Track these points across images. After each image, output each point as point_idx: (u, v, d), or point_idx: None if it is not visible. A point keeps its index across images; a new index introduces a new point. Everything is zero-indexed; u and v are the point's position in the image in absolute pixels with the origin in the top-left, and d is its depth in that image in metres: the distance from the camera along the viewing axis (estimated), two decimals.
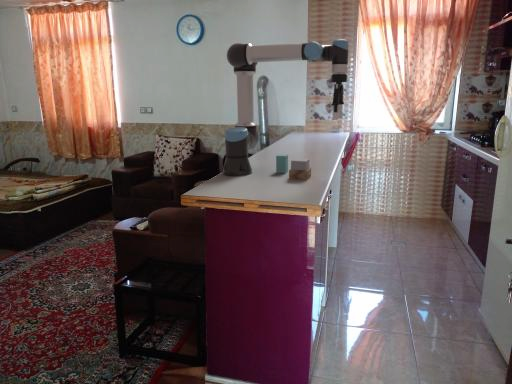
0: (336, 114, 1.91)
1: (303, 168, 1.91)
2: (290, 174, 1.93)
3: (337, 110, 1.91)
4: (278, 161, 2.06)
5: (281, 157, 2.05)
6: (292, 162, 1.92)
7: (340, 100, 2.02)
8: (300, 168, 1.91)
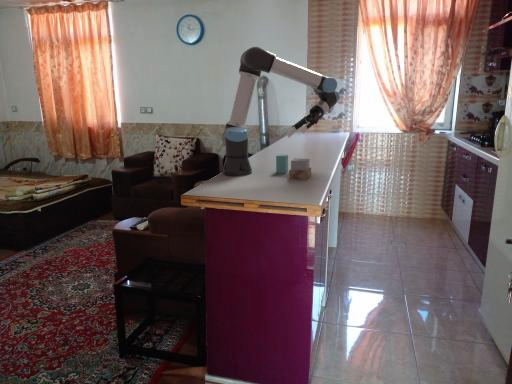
0: (306, 129, 2.04)
1: (303, 168, 1.91)
2: (290, 174, 1.93)
3: (308, 127, 2.05)
4: (278, 161, 2.06)
5: (281, 157, 2.05)
6: (292, 162, 1.92)
7: (298, 126, 2.18)
8: (300, 168, 1.91)
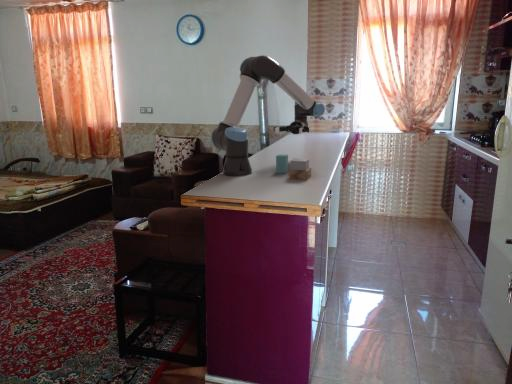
0: (301, 131, 2.13)
1: (303, 168, 1.91)
2: (290, 174, 1.92)
3: (302, 131, 2.15)
4: (278, 161, 2.06)
5: (281, 157, 2.05)
6: (292, 162, 1.92)
7: (281, 129, 2.23)
8: (300, 168, 1.91)
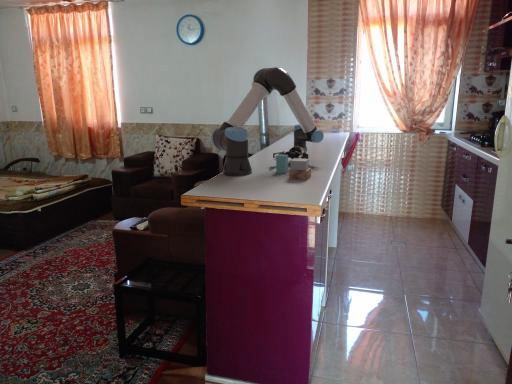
0: None
1: (303, 168, 1.91)
2: (290, 174, 1.92)
3: None
4: (278, 161, 2.06)
5: (281, 157, 2.05)
6: (292, 162, 1.92)
7: None
8: (300, 168, 1.91)
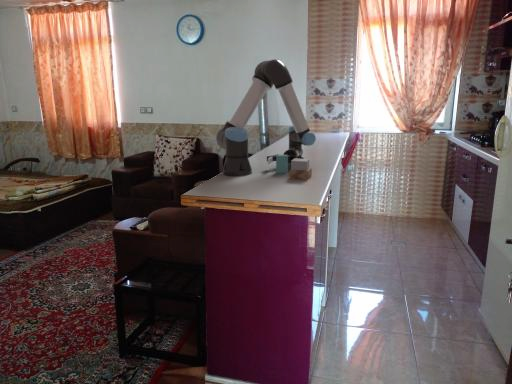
0: None
1: (304, 168, 1.90)
2: (290, 174, 1.92)
3: None
4: (278, 161, 2.06)
5: (281, 157, 2.05)
6: (292, 162, 1.91)
7: (274, 159, 2.15)
8: (300, 168, 1.91)
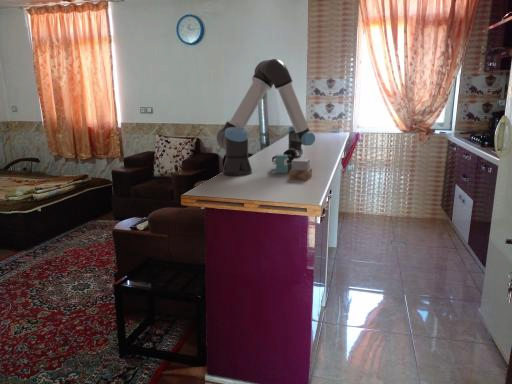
0: (286, 162, 2.04)
1: (304, 168, 1.90)
2: (291, 174, 1.92)
3: (287, 163, 2.06)
4: (278, 161, 2.06)
5: (281, 157, 2.05)
6: (293, 162, 1.91)
7: None
8: (301, 168, 1.91)
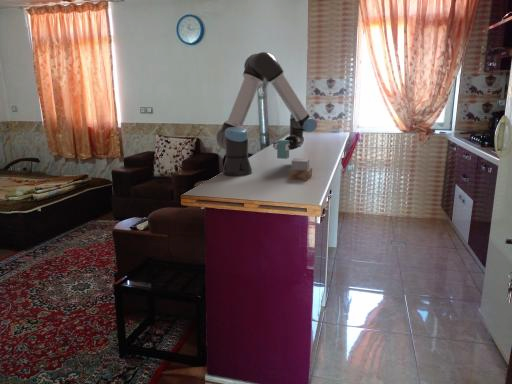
0: (287, 148, 2.02)
1: (304, 168, 1.90)
2: (291, 174, 1.92)
3: (288, 148, 2.04)
4: (279, 146, 2.04)
5: (282, 142, 2.03)
6: (293, 162, 1.91)
7: None
8: (301, 168, 1.91)
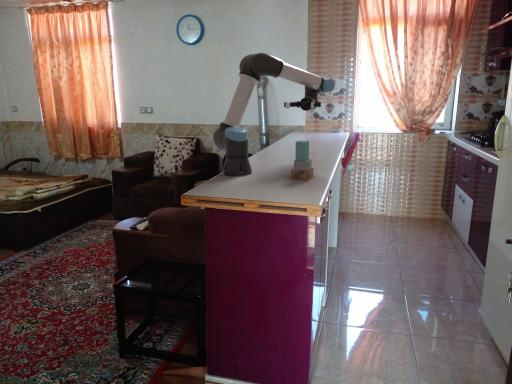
0: (313, 105, 2.09)
1: (306, 168, 1.90)
2: (292, 174, 1.92)
3: (313, 106, 2.10)
4: (298, 147, 1.90)
5: (301, 143, 1.89)
6: (295, 162, 1.91)
7: (292, 105, 2.18)
8: (303, 168, 1.90)
